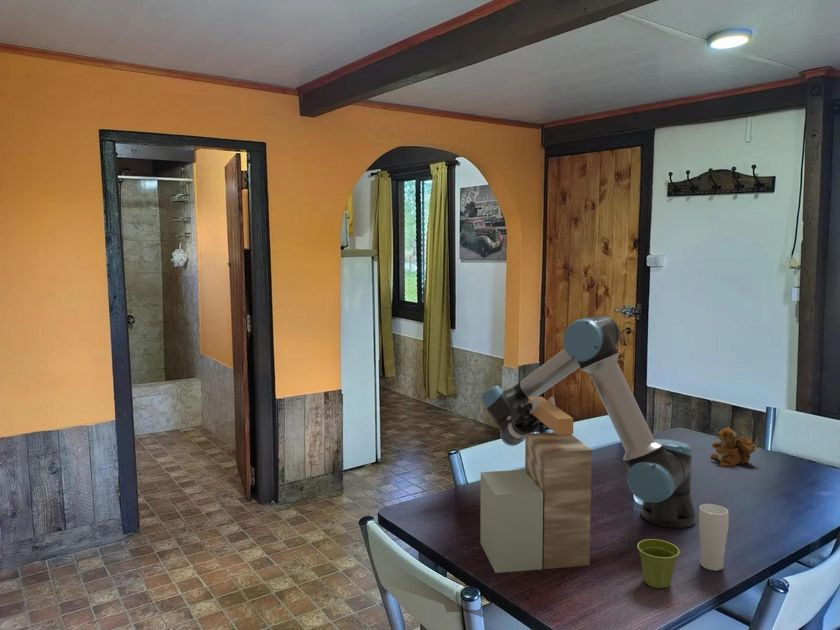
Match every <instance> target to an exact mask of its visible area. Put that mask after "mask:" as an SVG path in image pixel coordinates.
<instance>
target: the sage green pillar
mask: <svg viewBox="0 0 840 630" xmlns="http://www.w3.org/2000/svg"><path fill="white" fill-rule="evenodd" d="M480 545H481V548H482V549H483V551H484V553H485V555H486V557H487V559H488V560H489V563H490V565H491V567H492V569H493V570H494V573H495V574H497V573H498V574H501V573H511V572H523V571H535V570H537V571H538V570H543V567H542V546H543V491H542V490H541V489H540V488H539V487H538V486H537V484H536V483H535V482H534V481H533V480H532V479H531V478H530V476H529V475H528V474H527V473H526V472H525V469H515V470H514V469H512V470H499V471H498V470H496V471H481V472H480Z"/></svg>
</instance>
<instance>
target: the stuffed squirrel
mask: <svg viewBox="0 0 840 630" xmlns="http://www.w3.org/2000/svg"><path fill="white" fill-rule="evenodd" d="M736 436H737V432H735V431H734V430H733V429H731V427H729V426H727V427H725V428H723V429H721V430H719V431H718V433H717V434H716V436H715V439H717V438H718V440H719V441H718V442H717V441H714V442H713V443H712V444H711V446H712V448H713V449H715V452H716V453H711V454H710V458H711V459H713V460H717V461H719V462H720V463H719V464H720V466H721V467H736V466H737V465H744V464H745V463H746V464H747V463H748V462H749V461H750V459H751V454H752V453H755V452H756V451H755V450H756V447H757V445H756V444H755V443H754V442H753V441H752V440H750V439H749V438H747V437H739V438H738V439H735V438H736Z"/></svg>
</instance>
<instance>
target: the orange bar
mask: <svg viewBox="0 0 840 630" xmlns="http://www.w3.org/2000/svg"><path fill="white" fill-rule="evenodd" d="M534 398H535V397H528V403H530V402H531V401H532V400H533V399H534ZM547 400H548V399H546V398H544V397H543V396H538V404H539V407H538V408H537V409H536V410H535V411H534V412H533V413H531V414H533V415H534V416H535V417H536V418H538V419H539V420H540V421H541V422H540V423H543V425H545V426H546V427H548V429H549V430H551V432H555V433H556V434H557V435H564V434H572V435H574V418H573V417H572V416H571V415H569V414H568V413H566V412H564V410H563V409H561V408H559V407H557V405H556V406H555V405H553V404H552V403H550V402H549V401H547ZM529 412H530V411H529Z"/></svg>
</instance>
